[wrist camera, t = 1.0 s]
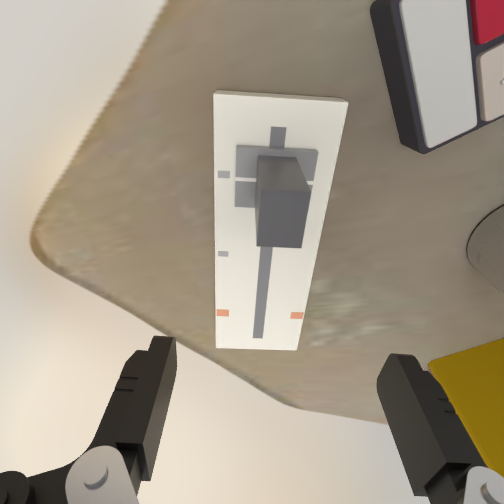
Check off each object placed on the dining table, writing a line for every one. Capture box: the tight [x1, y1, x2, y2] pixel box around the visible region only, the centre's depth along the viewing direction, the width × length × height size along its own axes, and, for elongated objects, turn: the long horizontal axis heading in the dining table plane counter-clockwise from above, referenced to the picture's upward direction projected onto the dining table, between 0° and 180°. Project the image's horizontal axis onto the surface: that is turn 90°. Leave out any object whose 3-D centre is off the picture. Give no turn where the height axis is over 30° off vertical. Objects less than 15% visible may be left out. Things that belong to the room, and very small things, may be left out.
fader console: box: [213, 90, 349, 350], centre depth 31 cm, size 10×28×2 cm, turn 177°
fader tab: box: [235, 145, 319, 248], centre depth 23 cm, size 6×5×8 cm
